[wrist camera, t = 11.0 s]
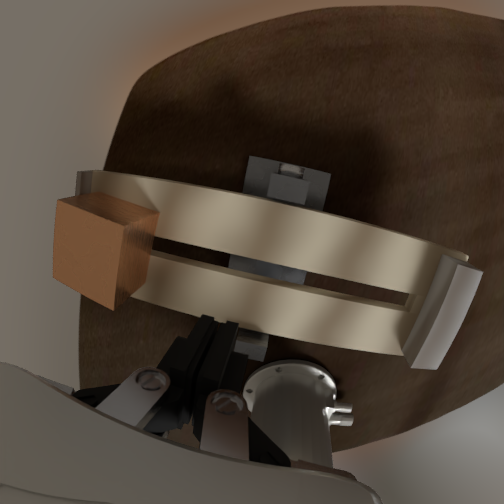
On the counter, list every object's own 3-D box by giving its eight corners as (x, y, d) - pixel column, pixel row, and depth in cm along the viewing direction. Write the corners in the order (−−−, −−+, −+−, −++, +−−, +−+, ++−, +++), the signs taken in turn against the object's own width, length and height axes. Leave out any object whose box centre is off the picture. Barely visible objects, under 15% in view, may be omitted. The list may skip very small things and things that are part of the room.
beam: (461, 252, 19) (485, 265, 15) (419, 350, 22) (433, 373, 18) (96, 170, 20) (69, 172, 17) (92, 276, 23) (69, 291, 20)
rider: (165, 210, 21) (124, 226, 15) (150, 278, 22) (113, 310, 17) (105, 190, 21) (57, 199, 15) (95, 254, 23) (52, 277, 17)
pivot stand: (329, 173, 26) (356, 175, 16) (292, 316, 31) (293, 377, 21) (250, 156, 27) (230, 147, 17) (223, 300, 31) (197, 356, 21)
